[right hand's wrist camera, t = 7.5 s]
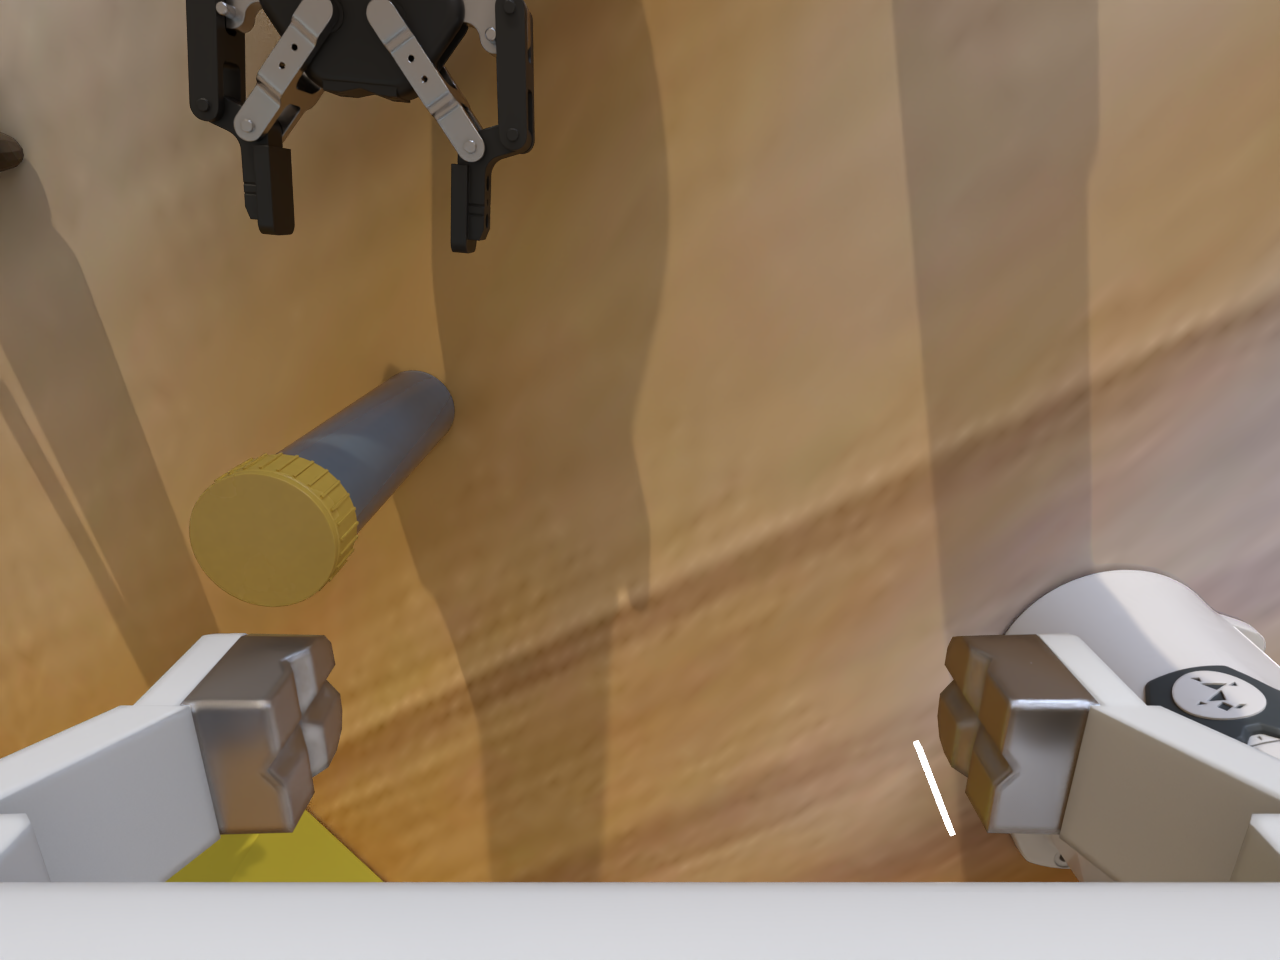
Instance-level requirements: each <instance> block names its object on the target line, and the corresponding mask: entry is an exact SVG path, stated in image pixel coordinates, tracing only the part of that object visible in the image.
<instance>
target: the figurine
mask: <svg viewBox="0 0 1280 960" xmlns="http://www.w3.org/2000/svg"><path fill="white" fill-rule="evenodd" d="M23 157H24V154H23V149H22V148H21V146H20V145H19V144H18V142H17V141H16V140H15V139H14V138H12V137H10V136H8V135H6V134H4V133H2V132H0V172H1V171H4V170H7V169H10V168H14V167H16V166H17V165H18V164H19V163H20V162H21V161H22V159H23Z"/></svg>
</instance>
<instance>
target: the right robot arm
mask: <svg viewBox="0 0 1280 960" xmlns="http://www.w3.org/2000/svg"><path fill="white" fill-rule="evenodd" d="M1265 647H1266V643H1265V639H1264V638H1263V636H1262V635H1261V634H1260V633H1259V632H1257V631H1256V630H1255V629H1254V628H1253V627H1252V626H1250V625H1249V624H1247V623H1245V622H1243V621H1240V620H1238V619H1234V618H1231V617H1228V616H1225V615H1221V614H1218V613H1217V612H1215V611H1214V610H1213V609H1211V608H1210V607H1209V606H1208V605H1207V604H1206V603H1205V602H1204V601H1203V600H1202V599H1201V598H1200V597H1199V596H1198V595H1197V594H1196V593H1195V592H1193V591H1192V590H1191V589H1189V588H1188V587H1187V586H1185V585H1183V584H1182V583H1180V582H1178V581H1176V580H1174V579H1172V578H1169V577H1167V576H1164V575H1160V574H1157V573H1153V572H1147V571H1140V570H1113V571H1106V572H1100V573H1095V574H1091V575H1087V576H1084V577H1081V578H1078V579H1075V580H1073V581H1070V582H1068V583H1066V584H1064V585H1061V586H1059V587H1058V588H1056V589H1054V590H1052V591H1050V592H1049V593H1047V594H1046V595H1044V596H1043V597H1041V598H1040V599H1038V600H1037V601H1036V602H1035V603H1033V604H1032V605H1031V606H1030V607H1028V608H1027V609H1026V610H1025V611H1024V612H1023V613H1022V614H1021V615H1020V616H1019V617H1018V618H1017V619H1016V621H1015V622H1014V623H1013V624H1012V625H1011V627H1010V628H1009V629H1008V631H1007V632H1006V634H1005V635H984V636H956V637H952V639H951V641H950V643H949V646H948V648H947V654H946V660H945V666H946V668H947V669H948V671H949V672H950V674H951V676H952V677H953V679H954V680H953V681H952V682H951V683H950V684H949V685H948V686H947V687H946V688H945V689H944V690H943V691H942V692H941V693H940V699H939V707H938V716H937V717H938V727H939V737H940V741H941V744H942V747H943V750H944V753H945V755H946V757H947V759H948V761H949V763H950V765H951V767H952V768H954V769H956V770H957V771H959V772H960V773H962V774H963V775H965V776H966V777H968V779H967V785H966V791H965V793H966V795H967V796H968V798H969V800H970V802H971V804H972V805H973V807H974V809H975V811H976V813H977V814H978V816H979V818H980V820H981V822H982V824H983V825H984V827H985V829H986V831H987V833H1010V834H1011V836H1012V838H1013V841H1014V843H1015V845H1016V847H1017V849H1018V850H1019V852H1020V853H1021V854H1022V856H1023V857H1024V858H1025V859H1026V860H1027V861H1028V862H1031V863H1034V864H1038V865H1042V866H1046V867H1053V868H1064V869H1071V870H1072V872H1073V873H1074V875H1075V876H1076V878H1077V879H1078V880H1079V882H166V881H167V880H168V879H169V878H171V877H172V876H173V875H175V874H176V873H177V872H178V871H180V870H181V869H182V868H183V867H185V866H186V865H187V864H189V863H190V862H191V861H192V860H194V859H195V858H196V857H198V856H199V855H200V854H201V853H203V852H204V851H205V850H206V849H208V848H209V847H210V846H212V845H213V844H214V843H215V842H217V841H218V840H219V839H220V838H221V837H220V835H227V834H262V833H293V831H294V829H295V827H296V825H297V824H298V822H299V820H300V818H301V816H302V814H303V813H304V811H305V809H306V807H307V805H308V804H309V802H310V800H311V798H312V796H313V794H314V793H315V791H314V785H313V779H312V777H314V776H315V775H317V774H318V773H320V772H321V771H323V770H324V769H326V768H327V767H329V765H330V763H331V761H332V759H333V757H334V755H335V753H336V751H337V747H338V743H339V739H340V734H341V730H342V705H341V698H340V693H339V692H338V691H337V690H336V689H335V688H334V687H333V686H332V685H331V684H330V683H329V682H328V681H327V680H326V679H327V677H328V676H329V674H330V672H331V671H332V669H333V668H334V666H335V660H334V655H333V650H332V645H331V642H330V641H329V640H328V639H327V638H326V637H325V635H288V634H246V633H227V634H209V635H204V636H202V637H201V638H200V639H199V640H198V641H197V642H196V643H195V644H194V645H193V646H192V647H191V648H190V649H189V650H188V651H187V652H186V653H185V654H184V655H183V656H182V657H181V658H180V659H179V660H178V661H177V662H176V663H175V664H174V665H173V666H172V667H171V668H170V669H169V670H168V671H167V672H166V673H165V674H164V675H163V676H162V677H161V678H160V679H159V680H158V681H157V682H156V683H155V684H154V685H153V686H152V687H151V688H150V689H149V690H148V691H147V692H146V693H145V694H144V695H143V696H142V697H141V698H140V699H139V700H138V701H137V702H136V703H135V704H134V705H133V706H118V707H116V708H114V709H111V710H109V711H107V712H105V713H102V714H100V715H98V716H96V717H94V718H91V719H89V720H87V721H85V722H82V723H80V724H78V725H76V726H73V727H71V728H69V729H67V730H64V731H62V732H60V733H58V734H55V735H53V736H51V737H49V738H46V739H44V740H42V741H40V742H37V743H35V744H33V745H31V746H28V747H26V748H24V749H22V750H19V751H17V752H15V753H13V754H10V755H8V756H6V757H4V758H1V759H0V960H1280V666H1279V665H1277V664H1276V663H1275V662H1274V661H1273V660H1272V659H1271V658H1270V657H1268V656H1267V655H1266V654H1265ZM913 743H914V745H915V748H916V750H917V753H918V755H919V758H920V761H921V763H922V766H923V768H924V771H925V774H926V776H927V779H928V781H929V784H930V786H931V789H932V792H933V794H934V797H935V799H936V802H937V805H938V807H939V810H940V812H941V815H942V818H943V820H944V823H945V825H946V828H947V830H948V832H949V834H950V836H952V835H955V832H954V830H953V827H952V824H951V822H950V819H949V817H948V814H947V811H946V809H945V806H944V804H943V801H942V798H941V796H940V793H939V791H938V788H937V785H936V783H935V780H934V777H933V775H932V772H931V770H930V767H929V764H928V762H927V759H926V757H925V754H924V751H923V749H922V747H921V745H920V743H919V741H915V742H913Z"/></svg>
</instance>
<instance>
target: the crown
mask: <svg viewBox="0 0 1280 960" xmlns="http://www.w3.org/2000/svg"><path fill="white" fill-rule="evenodd" d="M220 837H221V838H220V839H219V840H218V841H217V842H215V843H214V844H213V845H212V846H210V847H209V848H208V849H206V850H205V851H204V852H203V853H201V854H200V855H199V856H198V857H196V858H195V859H194V860H192V861H191V862H190V863H189V864H187V865H186V866H185V867H183V868H182V869H181V870H180V871H178V872H177V873H176V874H175V875H173V876H172V877H171V878H169V879H168V880H167V881H166V882H383V881H382V880H381V879H380V878H379V877H378V876H376V875H375V874H374V873H373V872H372V871H371V870H370V869H369V868H368V867H367V866H366V865H365V864H364V863H362V862H361V861H360V860H359V859H358V858H357V857H356V856H355V855H354V854H353V853H352V852H351V851H350V850H348V849H347V848H346V847H345V846H344V845H343V844H342V843H341V842H340V841H339V840H338V839H337V838H335V837H334V836H333V835H332V834H331V833H330V832H329V831H328V830H327V829H326V828H325V827H324V826H323V825H321V824H320V823H319V822H318V821H317V820H316V819H315V818H314V817H313V816H312V815H311V814H310V813H309V812H307V811H306V810H305V811H304V813H303V814H302V816H301V818H300V820H299V822H298V824H297V825H296V827H295V829H294V831H293V833H262V834H227V835H220Z"/></svg>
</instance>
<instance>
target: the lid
mask: <svg viewBox="0 0 1280 960" xmlns="http://www.w3.org/2000/svg"><path fill="white" fill-rule="evenodd" d="M328 471H329V470H327V469H324V468H323V467H321V466H319V465H318V464H316V463H314V461H309V460H307V459H304V458H301V457H299V455H295V456H292V455H285V454H283V453H279V454H274V455H267V453H266V454H263V455H262V456H260V457H258V458H256V459H253V458H250V459H248V460H247V461H245V462H243V463H242V464H240V465H238V466H236V467H235V468H233V469H232V470H230V471H229V472H227V473H225V474H224V475H222V476H221V477H219V478H217V479H216V480H215V481H214V482H215V483H214V484H212V485H211V486H210V487H209V488H207V489H206V490H205V491H204V492H203V494H202V495H201V496H200V497H199V499H198V500H197V502H196V504H195V506H194V508H193V510H192V514H191V518H190V525H189V536H190V542H191V546H192V549H193V552H194V555H195V557H196V559H197V561H198V563H199V565H200V566H201V568H202V569H203V571H204V572H205V573H206V574H207V576H208V577H209V578H210V579H211V580H212V581H213V582H214V583H215V584H216V585H217V586H219V587H220V588H221V589H222V590H224V591H225V592H227V593H228V594H230V595H232V596H234V597H236V598H238V599H240V600H242V601H245V602H248V603H251V604H255V605H260V606H267V607H280V606H288V605H292V604H296V603H298V602H301V601H304V600H305V599H307V598H309V597H311V596H312V595H314V594H315V593H316V592H318V591H320V590H321V589H322V588H323V587H324V586H325V585H326V583H327V582H328V581H329V582H330V581H331V580H332V578H333V577H334V576H335V575H336V574H337V573H338V571H339V570H340V569H341V568H342V567H343V565H344V564H345V563H346V562H347V560H346V559H347V558H348V557H349V556H350V555H351V553H352V552H353V551H354V548H353V546H354V543H355V541H356V539H357V538H358V535H357V525H358V524H359V521H357V518H356V513H355V510H356V507H354V506H353V503H352V501H351V498H350V497H349V496H350V494H349V493H347V491H346V490H345V488H344V487H343V486H342V484H341V483H340V480H337V479H336V478H335V477H334V476H333V475H332V474H331V473H330V472H328Z"/></svg>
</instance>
